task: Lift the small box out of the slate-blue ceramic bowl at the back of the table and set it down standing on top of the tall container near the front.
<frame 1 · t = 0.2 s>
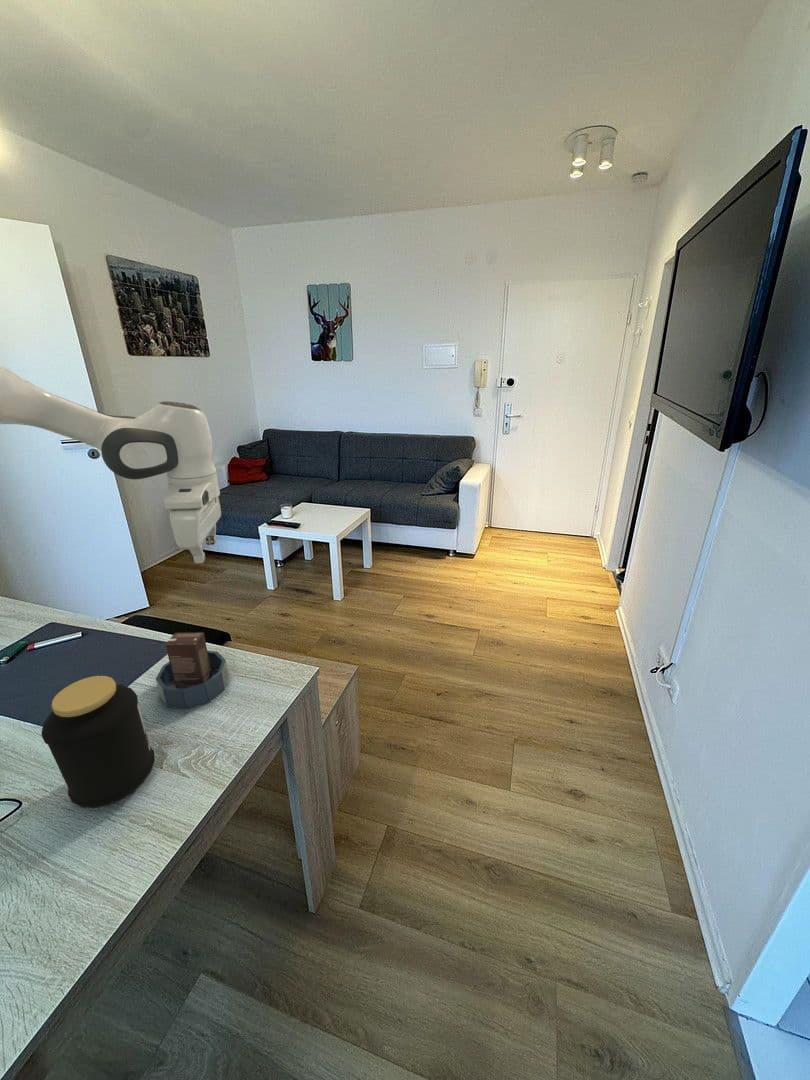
hand: (206, 552, 90), 26 cm above the table, tool pointing down, fingers open, 8 cm apart
container: (115, 781, 69), on the table
box: (195, 687, 90), resting in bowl
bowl: (195, 686, 90), on the table
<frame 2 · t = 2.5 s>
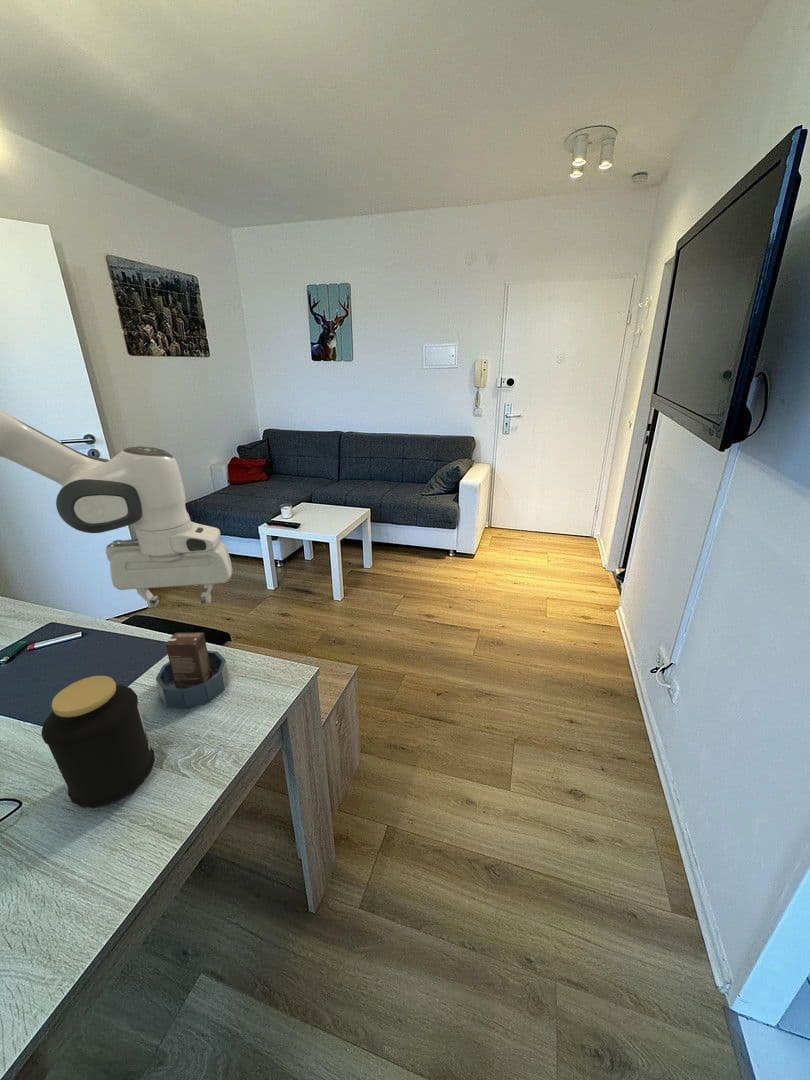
hand: (180, 604, 83), 19 cm above the table, tool pointing down, fingers open, 8 cm apart
nothing on the table moved.
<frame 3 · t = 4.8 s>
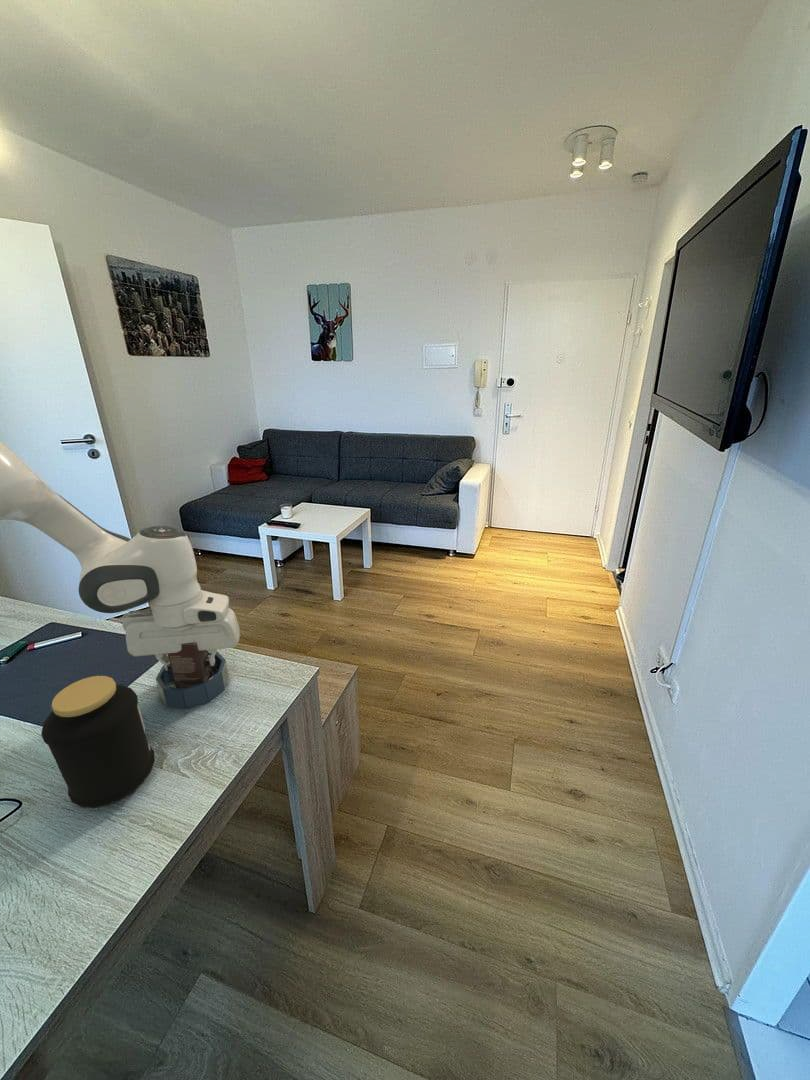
hand: (191, 666, 88), 5 cm above the table, tool pointing down, fingers closed on box, 6 cm apart
box: (195, 687, 90), resting in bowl, touching gripper
everything else where it was.
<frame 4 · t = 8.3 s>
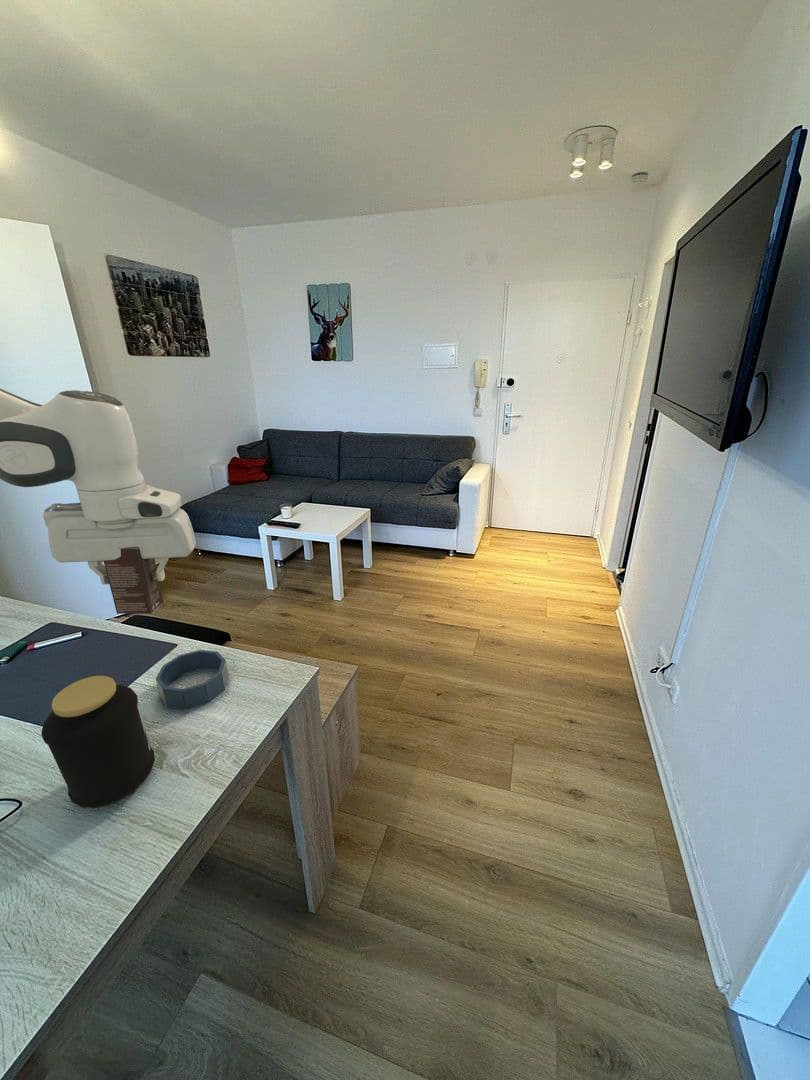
hand: (134, 581, 72), 29 cm above the table, tool pointing down, fingers closed on box, 6 cm apart
box: (141, 609, 74), point 23 cm above the table, touching gripper
everything else where it was.
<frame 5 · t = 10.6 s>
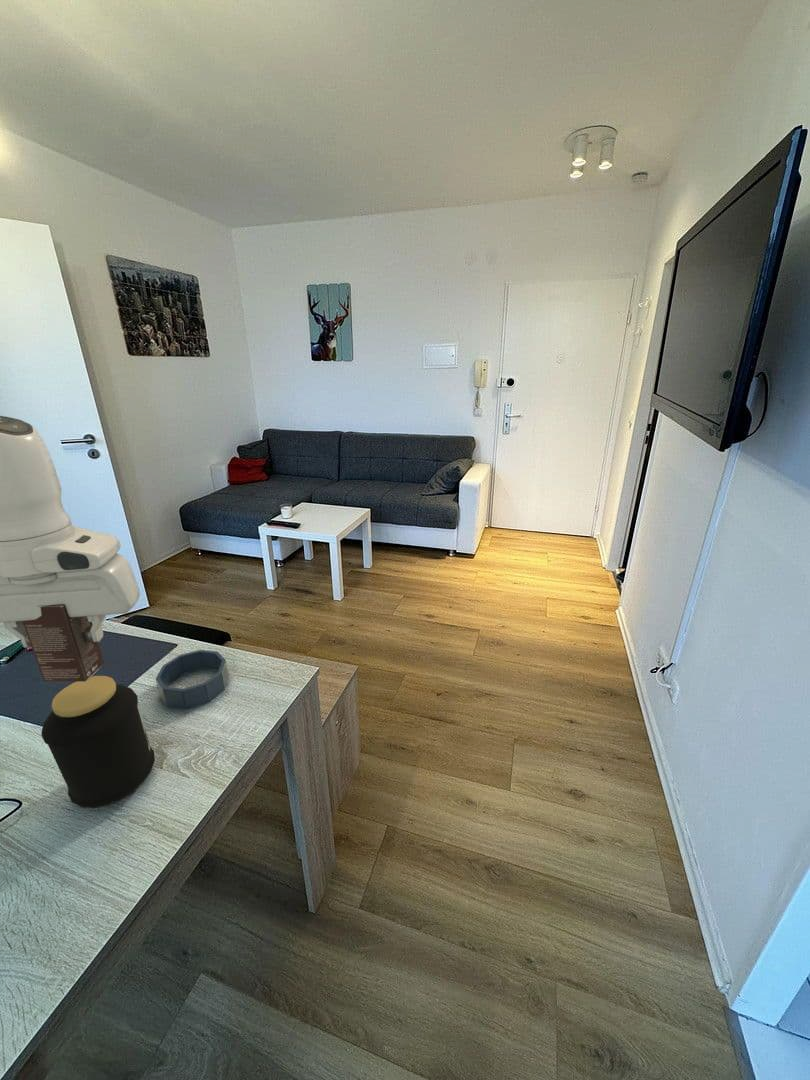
hand: (65, 642, 59), 27 cm above the table, tool pointing down, fingers closed on box, 6 cm apart
box: (76, 673, 61), point 21 cm above the table, touching gripper
everything else where it was.
when the fingers open (23 cm above the table, at t = 12.2 s): box stays where it is, resting on container.
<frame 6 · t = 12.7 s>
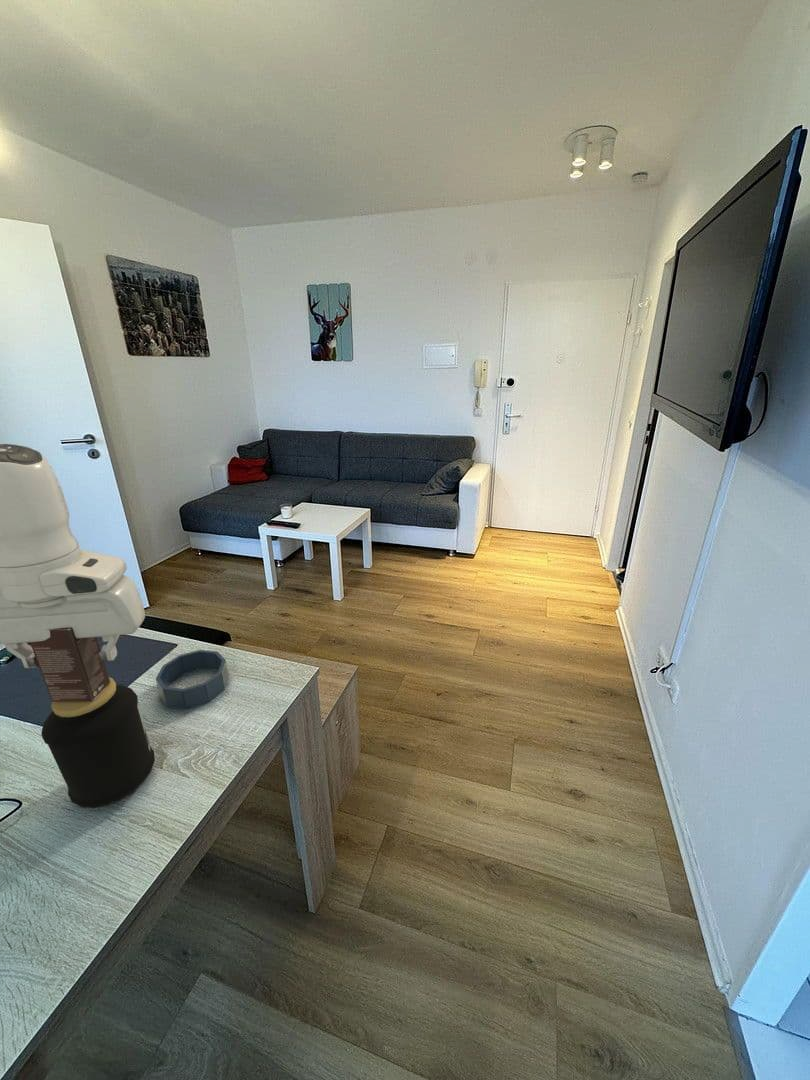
hand: (72, 661, 61), 23 cm above the table, tool pointing down, fingers open, 8 cm apart
container: (115, 781, 69), on the table, touching box
box: (82, 693, 63), point 18 cm above the table, touching container
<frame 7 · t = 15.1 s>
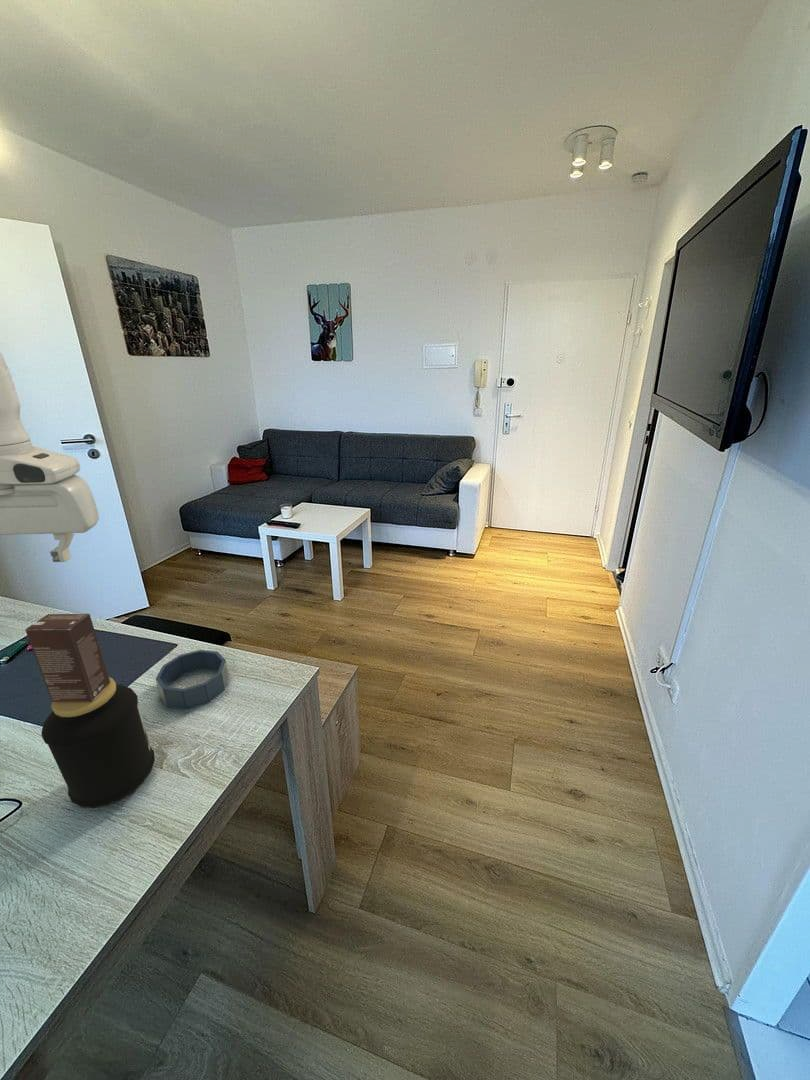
hand: (25, 561, 61), 36 cm above the table, tool pointing down, fingers open, 8 cm apart
nothing on the table moved.
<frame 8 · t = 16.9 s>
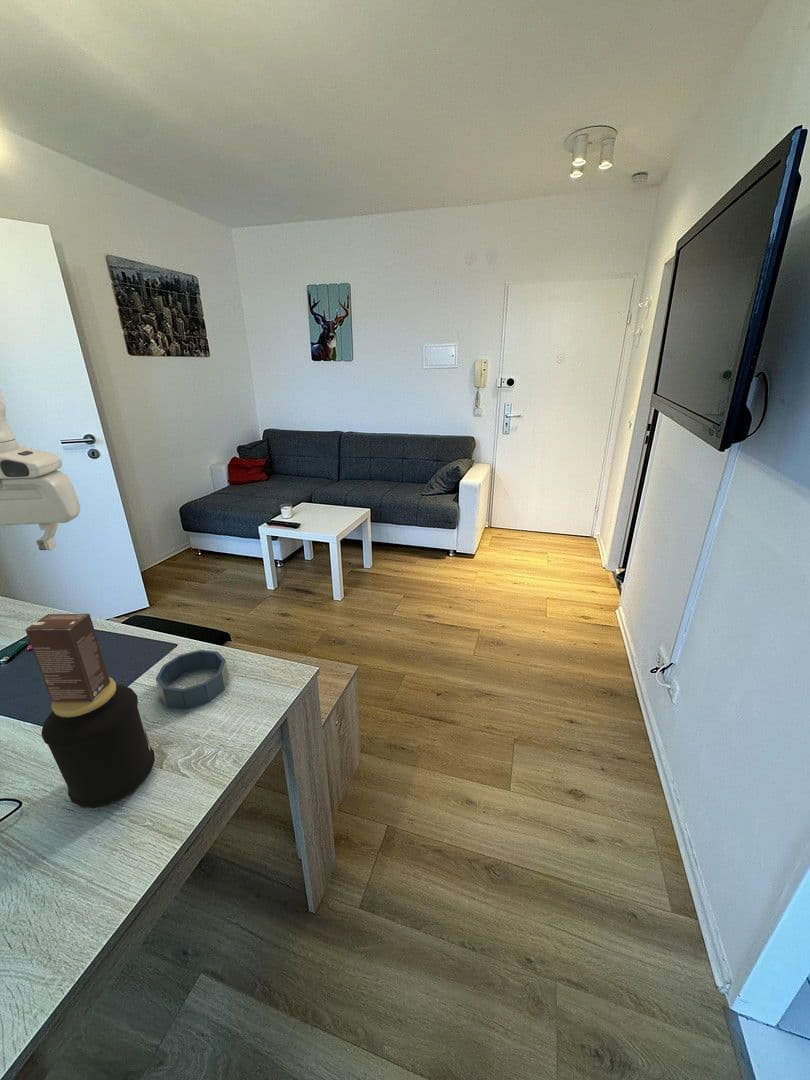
hand: (14, 550, 67), 35 cm above the table, tool pointing down, fingers open, 8 cm apart
nothing on the table moved.
at the end: box 0.5 cm from the container (horizontally); box point 17.8 cm above the table; box tilted 0° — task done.
